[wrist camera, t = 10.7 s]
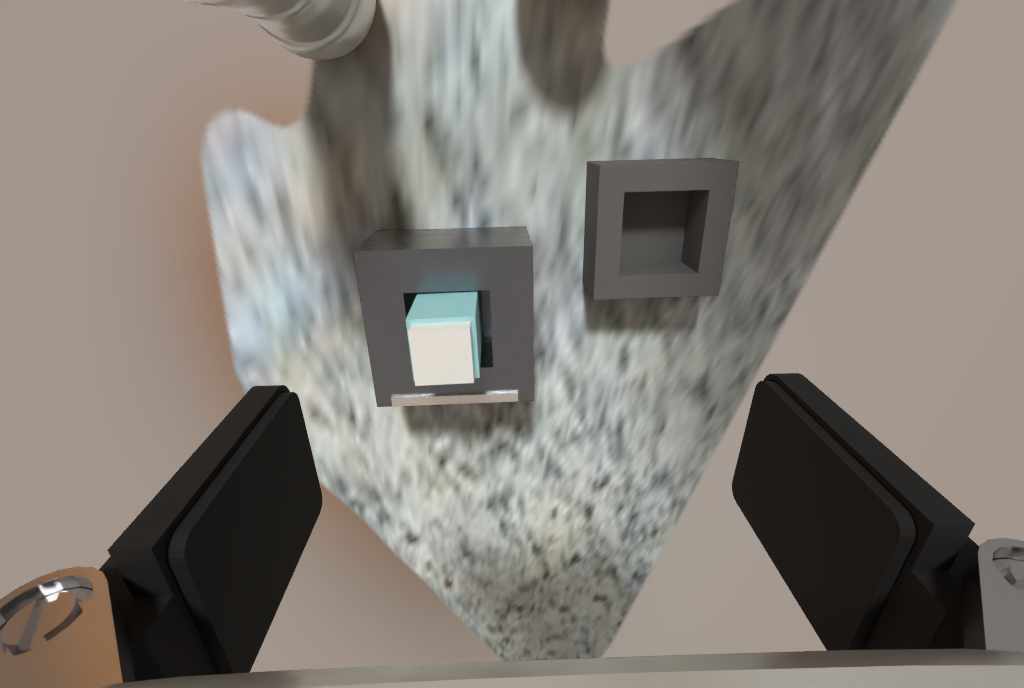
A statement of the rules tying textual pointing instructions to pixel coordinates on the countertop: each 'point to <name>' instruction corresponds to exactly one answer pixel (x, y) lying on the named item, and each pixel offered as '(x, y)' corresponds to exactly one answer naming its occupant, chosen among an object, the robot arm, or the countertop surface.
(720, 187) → the grey square socket
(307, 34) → the plastic bottle
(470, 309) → the plug
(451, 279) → the port block
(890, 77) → the countertop surface
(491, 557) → the countertop surface
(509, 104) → the countertop surface
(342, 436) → the countertop surface
